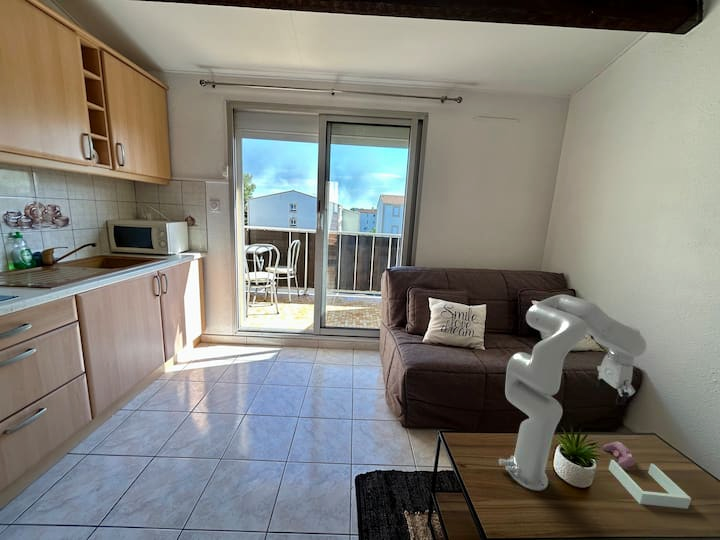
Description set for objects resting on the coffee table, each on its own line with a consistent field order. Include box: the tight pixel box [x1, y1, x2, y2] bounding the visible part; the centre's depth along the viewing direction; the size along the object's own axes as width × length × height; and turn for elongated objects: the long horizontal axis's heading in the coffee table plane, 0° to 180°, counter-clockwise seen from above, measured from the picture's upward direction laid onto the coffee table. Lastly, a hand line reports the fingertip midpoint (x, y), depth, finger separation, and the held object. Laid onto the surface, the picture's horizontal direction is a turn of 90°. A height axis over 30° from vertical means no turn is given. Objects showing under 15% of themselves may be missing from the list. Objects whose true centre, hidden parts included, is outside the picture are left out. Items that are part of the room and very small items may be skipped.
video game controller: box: [602, 441, 636, 469], centre depth 111 cm, size 10×5×7 cm, turn 169°
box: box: [608, 459, 692, 510], centre depth 100 cm, size 15×13×4 cm
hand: (610, 396), depth 116 cm, fingers open, 9 cm apart
